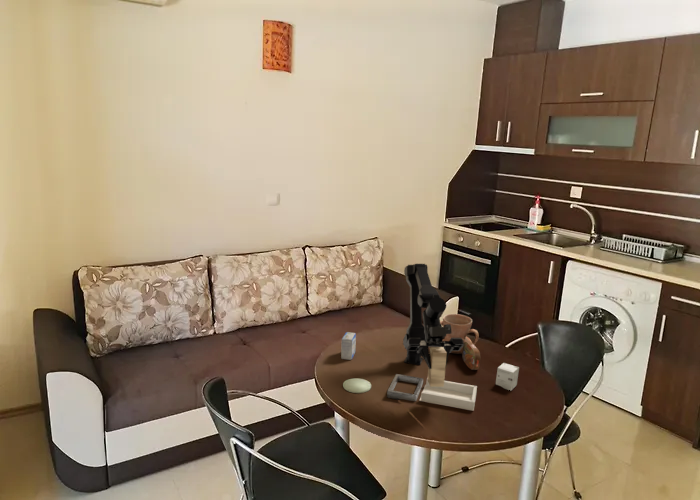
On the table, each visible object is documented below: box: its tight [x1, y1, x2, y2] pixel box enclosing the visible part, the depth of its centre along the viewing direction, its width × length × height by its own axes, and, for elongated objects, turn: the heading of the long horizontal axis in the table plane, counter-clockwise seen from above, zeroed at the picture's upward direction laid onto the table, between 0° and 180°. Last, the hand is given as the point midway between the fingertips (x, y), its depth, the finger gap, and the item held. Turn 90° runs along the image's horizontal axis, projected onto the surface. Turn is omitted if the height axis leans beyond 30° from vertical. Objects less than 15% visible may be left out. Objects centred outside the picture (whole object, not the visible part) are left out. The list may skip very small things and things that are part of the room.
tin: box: [461, 341, 482, 371], centre depth 203 cm, size 15×3×8 cm, turn 5°
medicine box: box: [340, 331, 357, 361], centre depth 208 cm, size 8×4×9 cm, turn 168°
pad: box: [342, 377, 372, 394], centre depth 183 cm, size 10×10×1 cm
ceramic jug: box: [440, 313, 480, 355], centre depth 217 cm, size 18×14×14 cm
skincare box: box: [495, 362, 520, 392], centre depth 187 cm, size 6×6×7 cm
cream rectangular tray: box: [419, 377, 478, 412], centre depth 176 cm, size 12×18×4 cm, turn 72°
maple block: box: [426, 347, 447, 387], centre depth 170 cm, size 4×4×12 cm
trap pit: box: [386, 373, 424, 402], centre depth 181 cm, size 14×10×2 cm
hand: (437, 368), depth 169 cm, fingers closed on maple block, 4 cm apart
